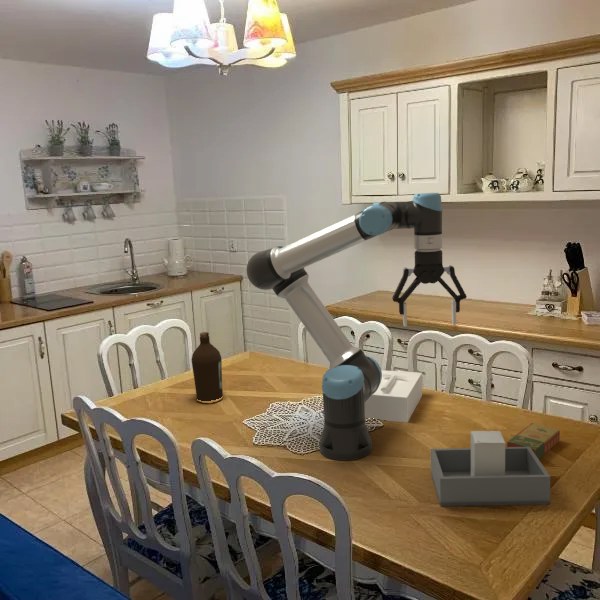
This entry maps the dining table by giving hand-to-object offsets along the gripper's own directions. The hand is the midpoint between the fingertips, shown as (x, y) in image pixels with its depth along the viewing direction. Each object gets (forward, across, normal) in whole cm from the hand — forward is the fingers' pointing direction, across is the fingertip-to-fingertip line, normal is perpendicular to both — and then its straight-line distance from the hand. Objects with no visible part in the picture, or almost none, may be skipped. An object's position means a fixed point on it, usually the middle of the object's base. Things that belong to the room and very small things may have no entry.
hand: (429, 324), depth 174 cm
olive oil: (+35, -74, +39) cm, 91 cm away
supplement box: (+34, +10, -29) cm, 46 cm away
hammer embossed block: (+35, -9, +27) cm, 45 cm away
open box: (+35, +10, -29) cm, 46 cm away
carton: (+35, +27, -7) cm, 45 cm away
